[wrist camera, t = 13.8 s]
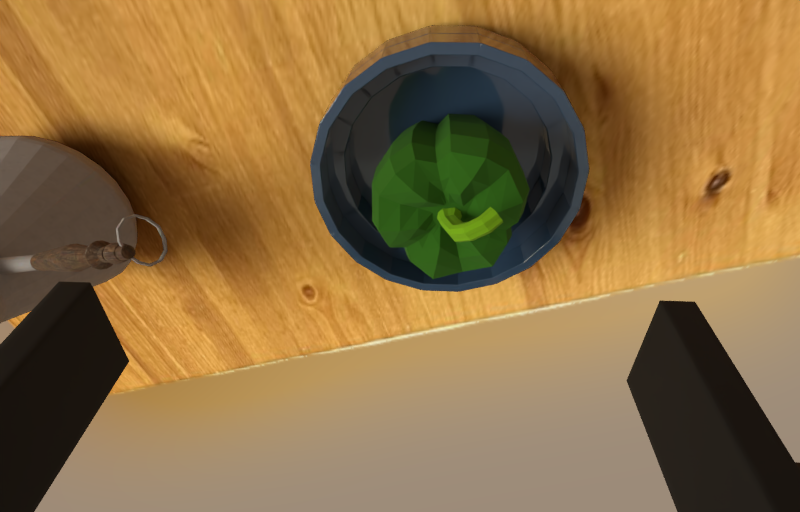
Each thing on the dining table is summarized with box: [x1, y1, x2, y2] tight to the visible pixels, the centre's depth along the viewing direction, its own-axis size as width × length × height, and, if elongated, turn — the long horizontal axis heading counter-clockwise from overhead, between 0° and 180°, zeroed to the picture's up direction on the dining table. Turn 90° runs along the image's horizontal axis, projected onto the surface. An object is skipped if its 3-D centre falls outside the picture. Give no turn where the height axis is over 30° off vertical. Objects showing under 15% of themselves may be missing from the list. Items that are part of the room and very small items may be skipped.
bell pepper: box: [372, 114, 530, 279], centre depth 28 cm, size 8×8×10 cm
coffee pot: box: [0, 136, 167, 323], centre depth 28 cm, size 21×12×15 cm, turn 114°
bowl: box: [310, 25, 589, 292], centre depth 30 cm, size 16×16×4 cm
